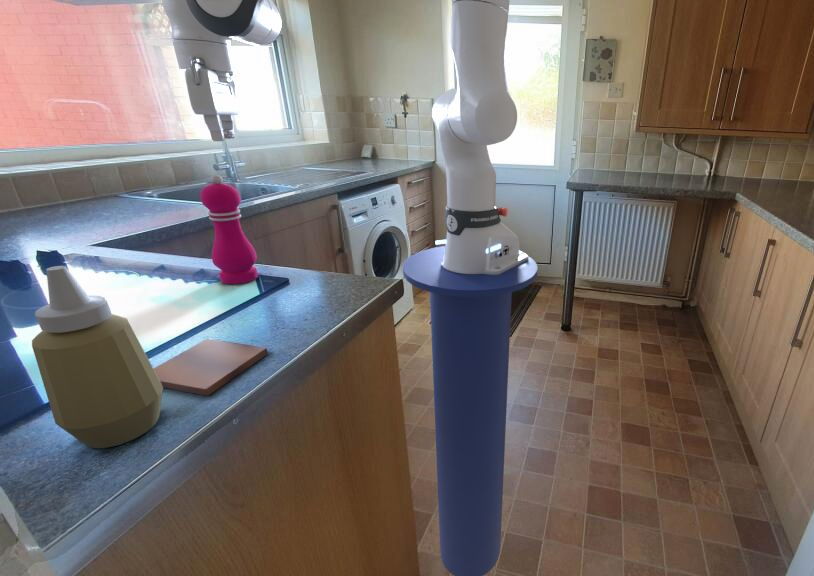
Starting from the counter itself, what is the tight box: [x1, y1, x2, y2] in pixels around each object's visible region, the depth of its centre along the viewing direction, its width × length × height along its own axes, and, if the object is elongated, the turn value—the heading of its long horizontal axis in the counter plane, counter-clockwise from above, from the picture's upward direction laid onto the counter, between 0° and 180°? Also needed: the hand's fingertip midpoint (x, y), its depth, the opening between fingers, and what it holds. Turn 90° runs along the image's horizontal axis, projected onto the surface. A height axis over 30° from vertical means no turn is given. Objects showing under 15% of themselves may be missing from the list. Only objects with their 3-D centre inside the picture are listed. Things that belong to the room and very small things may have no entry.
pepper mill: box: [200, 174, 259, 285], centre depth 77 cm, size 7×7×20 cm
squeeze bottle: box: [31, 265, 164, 449], centre depth 39 cm, size 8×8×18 cm
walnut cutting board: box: [153, 338, 269, 397], centre depth 53 cm, size 10×10×1 cm
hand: (224, 139), depth 82 cm, fingers open, 8 cm apart
